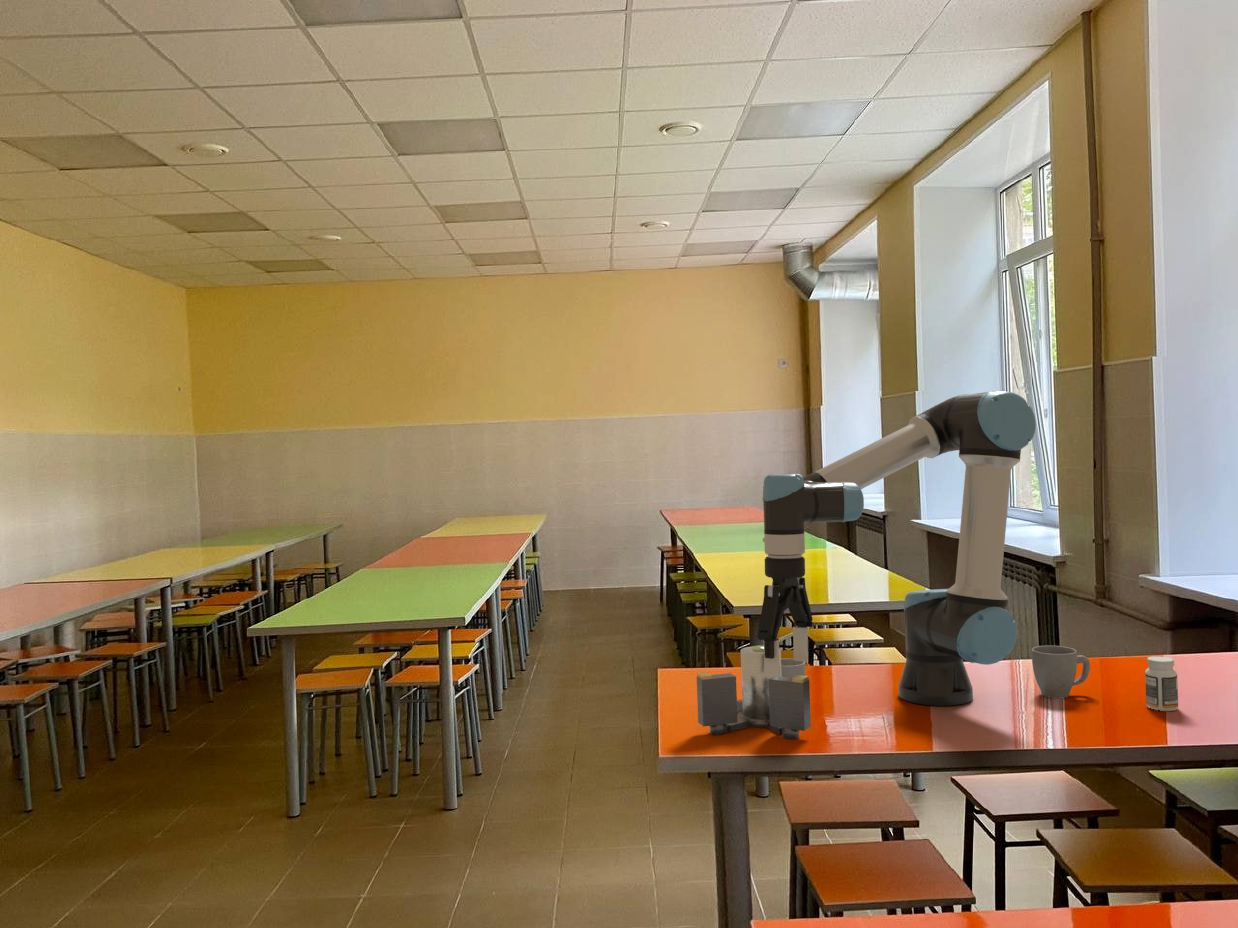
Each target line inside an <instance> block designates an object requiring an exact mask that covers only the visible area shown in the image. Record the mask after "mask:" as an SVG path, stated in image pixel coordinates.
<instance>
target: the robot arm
mask: <svg viewBox="0 0 1238 928" xmlns="http://www.w3.org/2000/svg"><path fill="white" fill-rule="evenodd" d="M1036 424H1037V423H1036V417H1035V414H1034V411H1033V408H1032V406H1031V405H1029V404H1028V402H1027V400H1026V399H1025V398H1024V397H1022V396H1021V395H1020V394H1017V393H1015V392H1012V391H1001V390H990V391H985V392H976V393H965V394H959V395H956V396H953V397H950V398H948V399H946V400H944V401H942V402H940V403H937V404H935V405H934V406H932V407H930V408H928V409H927V410H925V411H922V412H921V413H919V414H917V415H915V416H913V417H911V418H910V419H909V421H908V424H907V425H905V426H904V427H902V428H900V429H898V430H896V431H893V432H892V433H890V434H888V435H886V436H884V437H882V438H879V439H878V440H875V441H874V442H872V443H870V444H868V445H866V446H863V447H862V448H859V449H857V450H856V451H853V452H852V453H850V454H848V455H846V456H843V457H842V458H840V459H838V460H835V461H834V462H832V463H830V464H828V465H826V466H824V467H821V468H820V469H818V470H815V471H814V472H812V473H810V474H808V475H806V476H803V475H802V474H800V473H779V474H778V473H776V474H775V473H773V474H772V473H771V474H768V475H766V476H765V477H764V479H763V485H762V489H763V491H762V501H763V502H762V504H763V505H762V507H763V528H764V530H763V533H764V534H763V535H764V537H763V538H762V542H763V543H764V554H766V557H765V558H764V575H765V576H766V577H767V578H771V579H772V583H771V585H768V584H765V585H764V587H763V588H764V589H763V600H762V601H763V602H762V607H761V613H760V618H759V624H758V628H757V629H758V630H757V634H756V635H757V639H758V640H760V641H763V646H764V675H770V676H780V668H779V649H780V640H779V639H777V638H778V634H779V631H780V627H781V625H782V621H783V617H784V613H785V611H786V610H789V614H790V615H791V618H792V621H793V623H794V625H795V626H793V627H792V634H793V635H792V638H793V639H792V640H793V643H792V644H793V645H792V646H793V659H794V661H804V662H805V663H806V662H809V639H808V638H809V633H808V629H809V628H812V627H813V624H814V622H813V615H812V612H811V611H812V610H811V606H810V602H809V598H808V593H807V588H806V578H805V577H804V576H805V575H806V558H805V557H804V556H803V555H804V554H805V553H806V545H805V543H806V542H805V541H806V540H805V538H806V537H805V524H813V523H839V522H840V523H845V522H853V521H857V520H858V519H860V517H861V516H862V514H863V512H864V506H865V505H864V504H865V502H864V501H865V499H864V494H863V489H864V488H867V487H869V486H870V485H872V484H875V483H877V482H878V481H881V480H883V479H884V478H886V477H889V476H890V475H892V474H895V473H896V472H898V471H900V470H902V469H904V468H906V467H908V466H909V465H911V464H914V463H915V462H918V461H919V460H922V459H924V458H928V459H934V458H937V457H938V456H941V455H942V454H946V453H948V452H949V453H950V452H954V451H955V452H956V451H958V457H959V458H960V460H961V461H962V462H963V464H965V470H964V471H965V472H964V481H963V483H964V484H963V495H962V504H961V506H962V507H961V516H960V517H961V518H960V525H959V526H960V527H959V539H958V549H957V559H956V571H955V583H954V584H953V585H952V586H950V587H949V588H938V589H924V590H914V591H909V592H907V593H906V594H905V596H904V604H903V605H904V606H903V612H904V631H905V633H904V634H905V663H904V666H903V669H902V673H901V677H900V679H899V680H900V681H899V683H898V697H900V699H902V700H904V701H905V702H909V703H913V704H919V705H926V706H937V707H938V706H941V707H943V706H944V707H945V706H946V707H947V706H958V705H964V704H967V703H969V702H972V700H974V689H973V685H972V683H971V680H970V677H969V675H968V674H969V673H968V671H967V669H966V666H965V664H964V661H966V662H968V663H970V664H979V665H984V666H985V665H987V666H989V665H993V664H997V663H1000V662H1001V661H1002V660H1003V659H1005V657H1006V656H1008V655H1009V654H1010V653H1011V652H1012V650H1013V649H1014V647H1015V645H1016V642H1017V638H1018V633H1019V632H1018V625H1017V621H1016V620H1015V619H1014V616H1013V615H1012V614H1011V612H1009V611H1008V601H1009V600H1008V599H1009V597H1008V596H1007V594H1005V592H1004V591H1003V590H1002V575H1003V563H1004V554H1005V553H1004V552H1005V543H1006V530H1007V519H1008V518H1007V517H1008V507H1009V496H1010V486H1011V474H1012V469H1013V468H1014V467H1015V466H1016V465H1017V464H1018V463H1019V462H1021V453H1022V449H1024V448H1025V447H1027V446H1028V445H1029V443H1030V442H1031V441H1032V440H1033V438H1034V436H1035V433H1036V426H1037V425H1036Z"/></svg>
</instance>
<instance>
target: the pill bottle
mask: <svg viewBox="0 0 1238 928" xmlns="http://www.w3.org/2000/svg"><path fill="white" fill-rule="evenodd" d="M1146 658H1147V659H1146V661H1147V663H1146V664H1147V665H1148V668H1146V669H1145V672H1144V679H1145V680H1144V681H1145V703H1146V704H1145V705H1146V707H1147V708H1148V709H1150V708H1151V709H1150V710H1153V709H1154V710H1153V711H1158V710H1160V711H1159V712H1173V711H1176V710H1178V709H1179V689H1178V688H1179V687H1178V673H1177V671H1176V670H1175V669H1174V666H1175V659H1173V657H1167V656H1149V657H1146Z"/></svg>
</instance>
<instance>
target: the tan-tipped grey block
mask: <svg viewBox="0 0 1238 928" xmlns="http://www.w3.org/2000/svg"><path fill="white" fill-rule="evenodd" d="M737 691H738V690H737V676H736V675H734V674H733V673H731V672H727V673H716V674H710V673H708V672H697V673H696V697H697V701H696V702H697V722H698V724H700V725H701V726H702V727H703V728H704V727H709V734H710V735H712V736H723V735H726V734H727V732H728V731H727V730H726V724H731V723H738V714H737V700H738V697H737V695H738V693H737Z"/></svg>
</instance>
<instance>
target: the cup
mask: <svg viewBox="0 0 1238 928" xmlns="http://www.w3.org/2000/svg"><path fill="white" fill-rule="evenodd" d="M781 673H782V677H792V678H794V677H796V676H798V675H803V676H806V662H804V661H794V658H781Z"/></svg>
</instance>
